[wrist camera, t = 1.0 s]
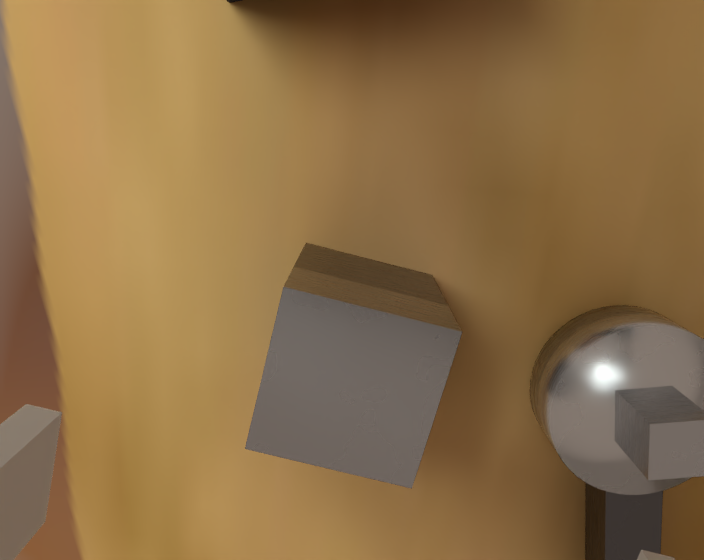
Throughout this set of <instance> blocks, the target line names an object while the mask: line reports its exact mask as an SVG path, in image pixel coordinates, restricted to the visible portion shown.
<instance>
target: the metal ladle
mask: <svg viewBox="0 0 704 560" xmlns="http://www.w3.org/2000/svg"><path fill="white" fill-rule="evenodd" d="M530 399H531V404H532V408H533V412H534V414H535V417H536V419H537V421H538V423H539V424H540V426H541V428H542V429H543V431H544V432H545V434H546V436H547V437H548V439H549V440H550V442H551V443H552V445H553V447H554V448H555V450H556V451H557V453H558V455H559V456H560V458H561V459H562V461H563V462H564V463H565V465H566V466H567V467H568V468H569V469H570V470H571V471H572V472H573V473H574V474H575V475H576V476H577V477H579V478H580V479H581V480H583V481H584V482H586V539H585V560H637V558H638V556H639V554H640V551H641V550H645V551H649V552H653V553H658V554H660V550H661V524H662V499H663V490H666V489H669V488H672V487H674V486H677V485H679V484H681V483H683V482H685V481H687V480H688V479H690V478H691V477H700V476H704V339H702V338H700V337H698V336H697V335H695V334H693V333H692V332H690V331H688V330H686V329H685V328H683V327H681V326H680V325H678V324H676V323H674V322H673V321H671V320H669V319H667V318H666V317H664V316H662V315H660V314H659V313H657V312H654V311H651V310H649V309H645V308H641V307H637V306H628V305H617V306H608V307H602V308H598V309H595V310H591V311H589V312H586V313H584V314H581V315H580V316H578V317H576V318H574V319H572V320H571V321H569V322H568V323H566V324H565V325H564V326H562V327H561V328H560V329H559V330H558V331H557V332H556V333H554V334H553V336H552V337H551V338H550V339H549V340H548V341H547V343H546V344H545V345H544V347H543V349H542V350H541V352H540V353H539V355H538V358H537V360H536V362H535V365H534V368H533V371H532V375H531V380H530Z"/></svg>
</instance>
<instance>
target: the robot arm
mask: <svg viewBox="0 0 704 560" xmlns="http://www.w3.org/2000/svg"><path fill="white" fill-rule="evenodd" d="M61 416H62V412H57V411H54V410H50V409H45V408H41V407H37V406H32V405H28V404H26V405H24V406H23V407H22V408H21V409H19V410H18V411H17V412H16V413H14V414H13V415H12V416H10V417H9V418H8V419H6V421H4V422H3V423H1V424H0V560H14V559H15V557H16V556H17V555H18V554H19V553H20V551H21V550H22V549H23V548H24V547H25V545H26V544H27V543H28V542H29V541H30V539H31V538H32V537H33V536H34V534H35V533H36V532H37V531H38V529H39V528H40V527H41V526H42V525H43V524H44V522H45V520H46V514H47V507H48V501H49V494H50V487H51V481H52V474H53V468H54V461H55V455H56V448H57V442H58V435H59V429H60V422H61ZM637 560H675V559H674V557H670V556H666V555H662V554H658V553H653V552H649V551H645V550H641V551H640V554H639V556H638V558H637Z"/></svg>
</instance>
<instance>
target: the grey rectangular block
mask: <svg viewBox="0 0 704 560" xmlns="http://www.w3.org/2000/svg"><path fill="white" fill-rule="evenodd" d="M461 334H462V330H461V328H460V327H459V325H458V323H457V321H456V319H455V317H454V315H453V314H452V312H451V310H450V308H449V306H448V304H447V302H446V300H445V299H444V297H443V295H442V293H441V291H440V289H439V287H438V286H437V284H436V282H435V280H434V278H433V276H432V275H429V274H425V273H421V272H418V271H414V270H410V269H406V268H402V267H398V266H394V265H390V264H386V263H383V262H379V261H375V260H371V259H367V258H363V257H359V256H355V255H351V254H348V253H344V252H340V251H336V250H332V249H328V248H324V247H320V246H316V245H313V244H309V243H306V244H305V246H304V248H303V250H302V252H301V254H300V256H299V258H298V260H297V261H296V263H295V265H294V267H293V269H292V271H291V273H290V275H289V277H288V279H287V281H286V283H285V285H284V287H283V291H282V295H281V300H280V304H279V308H278V312H277V316H276V321H275V325H274V329H273V333H272V337H271V342H270V346H269V350H268V354H267V358H266V363H265V367H264V371H263V375H262V379H261V384H260V388H259V392H258V396H257V400H256V405H255V409H254V413H253V417H252V421H251V426H250V430H249V434H248V438H247V442H246V447H245V449H248V450H252V451H256V452H261V453H265V454H269V455H273V456H277V457H282V458H286V459H290V460H294V461H298V462H303V463H307V464H311V465H315V466H319V467H324V468H328V469H332V470H336V471H340V472H345V473H349V474H353V475H357V476H362V477H366V478H370V479H374V480H378V481H383V482H387V483H391V484H395V485H399V486H404V487H408V488H412V486H413V483H414V480H415V477H416V474H417V471H418V467H419V464H420V461H421V458H422V455H423V452H424V449H425V446H426V443H427V440H428V436H429V433H430V430H431V427H432V424H433V421H434V418H435V415H436V412H437V409H438V406H439V402H440V399H441V396H442V393H443V390H444V387H445V384H446V381H447V378H448V375H449V371H450V368H451V365H452V362H453V359H454V356H455V353H456V350H457V347H458V344H459V341H460V337H461Z"/></svg>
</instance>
